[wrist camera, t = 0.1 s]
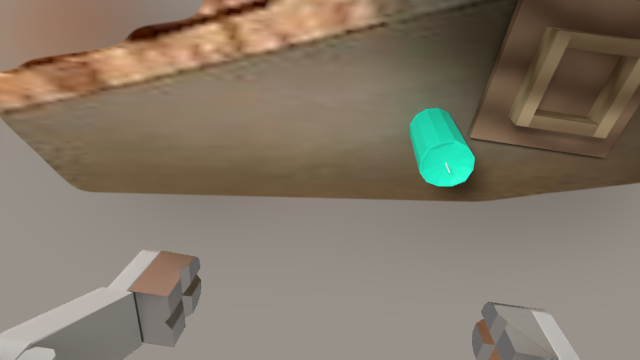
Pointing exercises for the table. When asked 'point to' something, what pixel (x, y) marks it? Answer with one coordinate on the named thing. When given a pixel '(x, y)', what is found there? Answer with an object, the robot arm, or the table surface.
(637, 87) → the candle holder
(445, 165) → the candle
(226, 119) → the table surface
